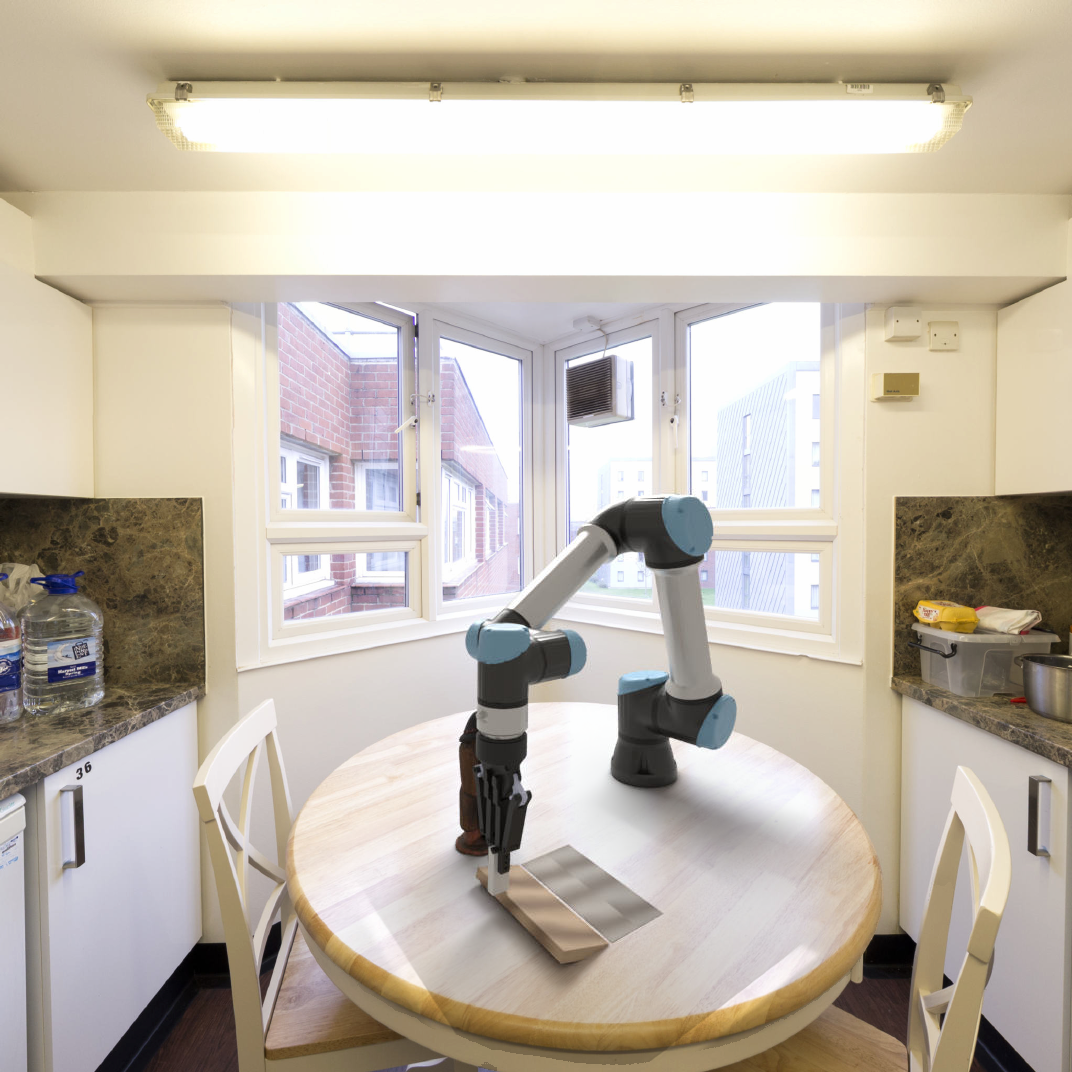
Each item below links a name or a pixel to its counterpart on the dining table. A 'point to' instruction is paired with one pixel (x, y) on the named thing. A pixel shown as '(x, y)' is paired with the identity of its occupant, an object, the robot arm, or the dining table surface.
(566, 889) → the laid strip
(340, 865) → the dining table surface
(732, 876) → the dining table surface
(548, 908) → the plank
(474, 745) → the figurine
